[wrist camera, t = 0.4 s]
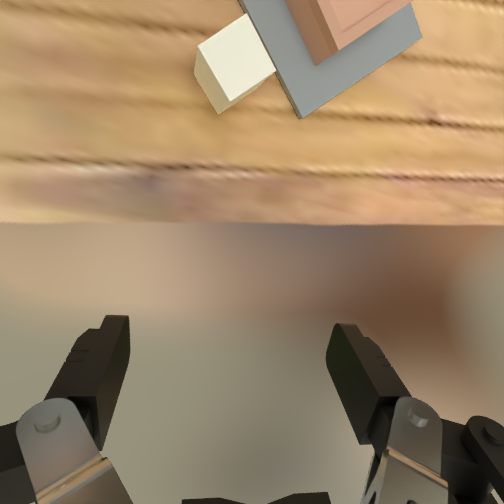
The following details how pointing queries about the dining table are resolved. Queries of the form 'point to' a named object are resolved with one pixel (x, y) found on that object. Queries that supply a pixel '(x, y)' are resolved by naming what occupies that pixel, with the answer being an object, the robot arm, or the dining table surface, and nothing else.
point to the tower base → (329, 42)
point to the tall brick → (232, 64)
